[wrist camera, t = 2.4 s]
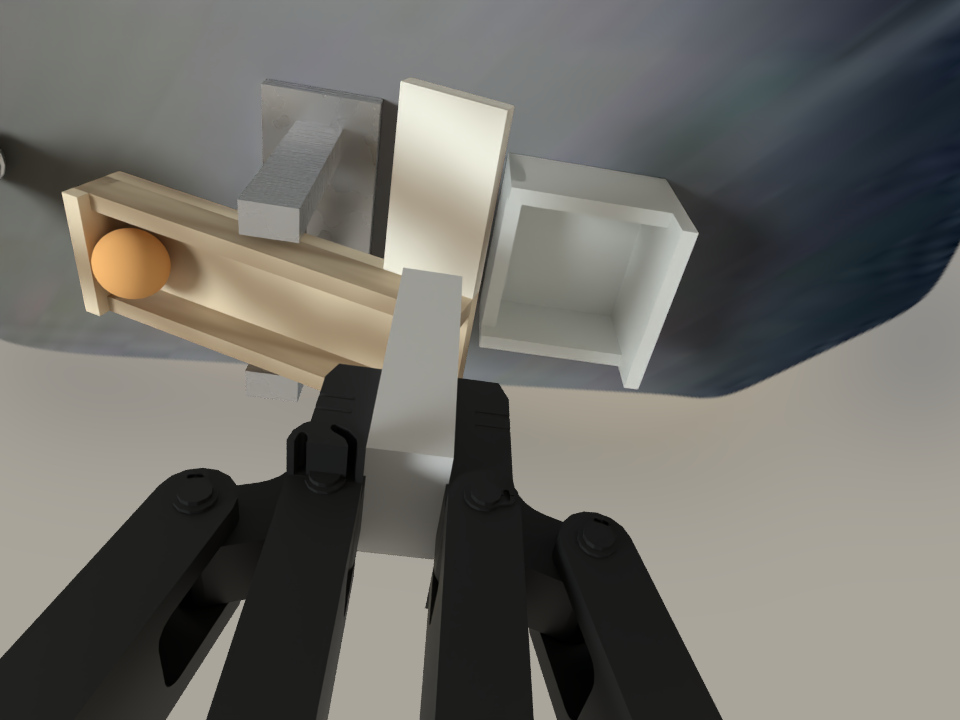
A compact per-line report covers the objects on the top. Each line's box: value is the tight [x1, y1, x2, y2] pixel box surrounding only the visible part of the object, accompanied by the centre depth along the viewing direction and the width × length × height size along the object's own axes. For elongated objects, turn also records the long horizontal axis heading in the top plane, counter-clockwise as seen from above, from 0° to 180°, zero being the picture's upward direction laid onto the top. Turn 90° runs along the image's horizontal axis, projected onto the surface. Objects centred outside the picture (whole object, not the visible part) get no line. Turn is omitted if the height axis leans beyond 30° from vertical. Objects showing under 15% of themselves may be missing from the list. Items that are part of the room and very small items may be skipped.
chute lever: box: [62, 77, 515, 391], centre depth 28 cm, size 14×18×4 cm
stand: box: [237, 79, 383, 402], centre depth 34 cm, size 13×6×12 cm, turn 170°
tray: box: [479, 153, 699, 389], centre depth 37 cm, size 10×9×7 cm
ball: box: [91, 228, 171, 299], centre depth 30 cm, size 3×3×3 cm
